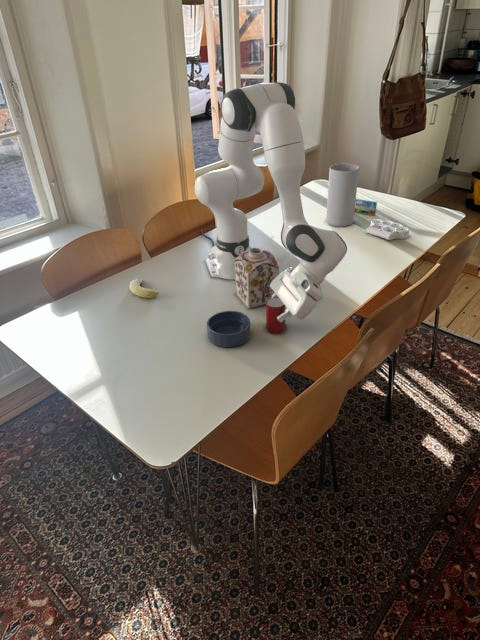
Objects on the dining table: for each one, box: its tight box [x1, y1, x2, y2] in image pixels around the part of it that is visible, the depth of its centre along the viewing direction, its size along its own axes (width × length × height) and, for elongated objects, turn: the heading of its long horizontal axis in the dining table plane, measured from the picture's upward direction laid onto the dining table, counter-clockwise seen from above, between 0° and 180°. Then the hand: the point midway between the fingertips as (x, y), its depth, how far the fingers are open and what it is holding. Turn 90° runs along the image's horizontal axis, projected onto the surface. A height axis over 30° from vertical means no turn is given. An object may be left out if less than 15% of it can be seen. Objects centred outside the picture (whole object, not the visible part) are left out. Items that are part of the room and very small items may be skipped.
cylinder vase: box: [325, 163, 360, 227], centre depth 207 cm, size 12×12×25 cm
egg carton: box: [365, 218, 410, 241], centre depth 200 cm, size 3×18×15 cm
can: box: [265, 298, 286, 335], centre depth 141 cm, size 6×6×10 cm
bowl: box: [206, 310, 252, 348], centre depth 140 cm, size 13×13×5 cm
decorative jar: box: [234, 247, 280, 310], centre depth 154 cm, size 12×12×18 cm
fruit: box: [129, 278, 160, 299], centre depth 165 cm, size 7×15×3 cm, turn 33°
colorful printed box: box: [354, 198, 378, 216], centre depth 220 cm, size 12×2×6 cm, turn 58°
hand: (273, 313), depth 140 cm, fingers open, 6 cm apart
